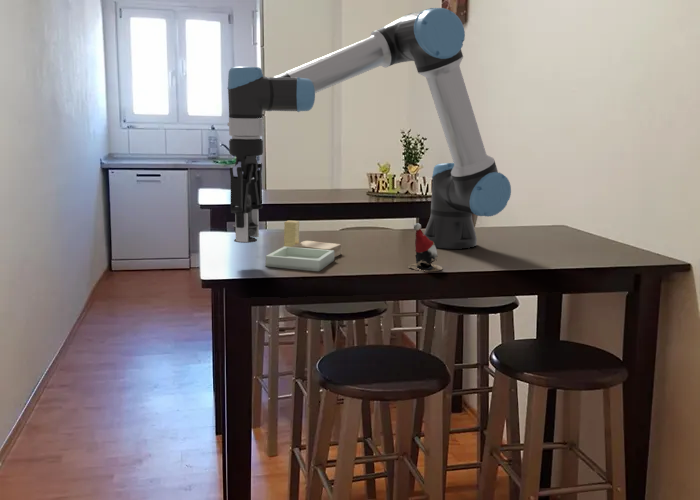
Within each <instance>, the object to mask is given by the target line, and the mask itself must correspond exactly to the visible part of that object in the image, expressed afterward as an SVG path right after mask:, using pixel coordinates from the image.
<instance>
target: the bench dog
mask: <svg viewBox="0 0 700 500" xmlns="http://www.w3.org/2000/svg"><path fill="white" fill-rule="evenodd" d="M283 223H284V226H283V227H284V229H283V230H284V231H283V236H284V237H283V247H284V246H286V247H293V245H295V244H298V243H300V220H287V221H284V222H283Z"/></svg>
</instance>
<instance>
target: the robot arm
mask: <svg viewBox="0 0 700 500" xmlns="http://www.w3.org/2000/svg"><path fill="white" fill-rule="evenodd" d="M465 34H466V32H465V28H464V25H463V22H462V20H461V19H460V17H459V16H458V15H457V14H456V13H455V12H453V11H451V10H450V9H448V8H445V7H430V8H427V9H424V10H419V11H415V12H411V13H408V14H405V15H403V16H401V17H399V18H397V19H395V20H393V21H392V22H390V23H388V24H386V25H384V26H383V27H382V26H381V28H378V29H375V30H374V31H372V32H371V33H370V35H369V37H366V38H364V39H362V40H360V41H357V42H355V43H352V44H350V45H348V46H344V47H343V48H340V49H338V50H336V51H333V52H330V53H328V54H326V55H324V56H321V57H319V58H316V59H313V60H311V61H309V62H307V63H303V64H302V65H300V66H297V67H294V68H292V69H289V70H287V71H284V72H283V73H280V74H278V75H274V76H264V74H263V69H262V67H256V66H233V67H230V69H228V81H227V94H228V95H227V96H228V122H227V126H228V133H229V136H230V137H231V138H229V140H228V142H229V143H228V146H229V147H228V149H229V152H228V153H229V154H230V156H235V162H234V163H235V165H234V166H230V167H229V175H230V176H229V177H230V213H231V214H235V216H234V218H235V225H236V233H235V239H236V241H237V242H236V243H239V242H248V213H246V205H247V195H248V194H250V195H251V208H253V210H252V220H253V222H254V223H255V224H257V225H258V227H257V230H256V233H255V234H254V235H252V236H250V237H254V238H259V237H260V236H259V235H260V234H259V233H260V231H259V229H260V227H259V226H260V222H259V219H260V218H259V216H260V215H259V209H261V210H262V209H263V206H264V205H263V189H262V188H263V185H262V184H263V179H262V176H263V175H262V170H263V164H262V162H258V159H257V157H259V156H260V157H261V156H262V155H264V140H263V139H262V138H261V137H262V136H264V121H263V119H264V118H263V117H264V116H263V111H264V112H298V113H300V112H309V111H311V110H312V108H313V107H314V104H315V100H316V94H317V93H319V92H321V91H323V90H326V89H329V88H331V87H333V86H336V85H337V84H340V83H343V82H345V81H347V80H351V79H352V78H354V77H357V76H359V75H362V74H364V73H367V72H369V71H371V70H373V69H376V68H379V67H383V68H389V67H391V66H393V65H396V64H401V63H407V62H414V64H415V65H414V66H415V68H416V70H417V71H416V72H417V73H418V74H419V75H420V76H422V77H425V78H426V82H427V85H428V88H429V91H430V94H431V97H432V100H433V103H434V105H435V106H434V107H435V109H436V111H437V116H438V118H439V121H440V124H441V125H440V126H441V128H442V131H443V135H444V138H445V140H446V144H447V147H448V149H449V153H450V156H451V158H452V162H445V163H444V162H443V163H438V164H436V165H434V167H433V171H432V177H431V180H432V181H431V186H432V187H431V203H430V217H429V219H428V222H427V225H426V227H425V229H424V233H423V234H424V235H425V236H426V237H427V238H428V239H429V240H430V241H433V242H434V245H435V247H436V248H438V249H446V250H447V249H451V250H463V249H462V248H468V249H471V248H470V247H474V246H476V247H477V243H478V238H477V234H476V230H475V226H474V222H473V215H476V216H478V217H494V216H496V215H498V214H500V213H501V212H502V211H504V209H505V208H506V207H507V205H508V202H509V200H510V198H511V195H512V194H511V193H512V186H511V183H510V180H509V178H508V177H507V176H506V175H505V174H503V173H501V172H500V171H499V170H498V168H497V165H496V161H495V158H494V157H491V155H488V154H487V152H486V150H485V149H486V148H485V145H484V142H483V138H482V135H481V132H480V128H479V125H478V123H477V119H476V115H475V113H474V110H473V107H472V103H471V99H470V96H469V93H468V91H467V87H466V82H465V80H464V76H463V74H462V71H461V67H460V66H461V62H462V61H463V59H464V55H463V54H464V53H463V51H462V48H463V45H464V44H463V43H464V41H465V39H466V37H465V36H466V35H465ZM474 248H475V247H474Z"/></svg>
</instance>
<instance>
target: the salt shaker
mask: <svg viewBox="0 0 700 500" xmlns="http://www.w3.org/2000/svg"><path fill="white" fill-rule="evenodd" d="M252 210H253V208H251V195H250V194H248V195H247V205H246V213H248V242H237V241H236V238H235V239H233V242H236V243H240V244H242V243H243V244H245V243H248V244H249V243H255V242H257V241H258V239H257V238H256V237H250V236H252V235H254V234H255V233H256V230H257V227H258V225H257V224H255V223H254V222H253V220H252ZM232 227H233V231H234V233H235V234H236V225H235V224H233V225H232Z"/></svg>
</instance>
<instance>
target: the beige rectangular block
mask: <svg viewBox="0 0 700 500" xmlns="http://www.w3.org/2000/svg"><path fill="white" fill-rule="evenodd" d="M293 247H298V248H310V249H322V250H334V258H335V257H336V258H337V257H338V256H339V255H342V244H341V243H335V242H334V243H332V242H321V241H313V240H303V241H301V242H300V241H299V243H298V244H295V245H293Z"/></svg>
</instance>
